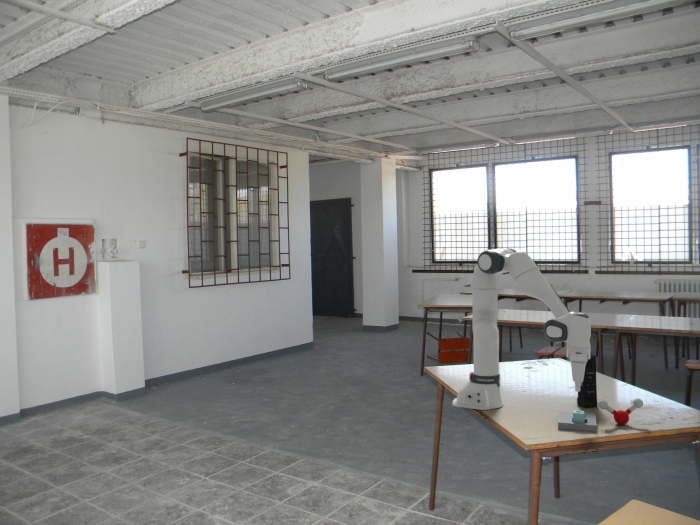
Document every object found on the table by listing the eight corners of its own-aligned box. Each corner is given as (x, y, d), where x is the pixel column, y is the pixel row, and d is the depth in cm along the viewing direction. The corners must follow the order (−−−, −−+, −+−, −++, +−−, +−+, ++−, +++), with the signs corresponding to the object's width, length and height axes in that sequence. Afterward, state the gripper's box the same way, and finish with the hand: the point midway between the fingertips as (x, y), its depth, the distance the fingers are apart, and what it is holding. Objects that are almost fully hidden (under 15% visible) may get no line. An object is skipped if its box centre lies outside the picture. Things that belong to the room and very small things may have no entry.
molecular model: (640, 421, 236) (640, 397, 235) (647, 426, 230) (646, 400, 230) (596, 422, 236) (595, 398, 236) (601, 427, 230) (601, 401, 230)
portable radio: (583, 408, 256) (582, 351, 255) (574, 405, 261) (573, 349, 261) (598, 407, 258) (597, 350, 257) (589, 403, 264) (588, 348, 263)
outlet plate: (558, 428, 230) (557, 421, 230) (559, 417, 245) (558, 410, 245) (596, 431, 225) (596, 424, 225) (595, 419, 240) (595, 413, 240)
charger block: (573, 428, 230) (573, 412, 230) (573, 425, 234) (573, 409, 234) (584, 429, 229) (584, 413, 229) (584, 425, 233) (583, 410, 232)
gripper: (570, 348, 241) (569, 381, 242) (569, 357, 222) (568, 393, 223) (586, 349, 239) (586, 383, 239) (587, 358, 220) (586, 395, 220)
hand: (577, 388), depth 231 cm, fingers open, 8 cm apart
